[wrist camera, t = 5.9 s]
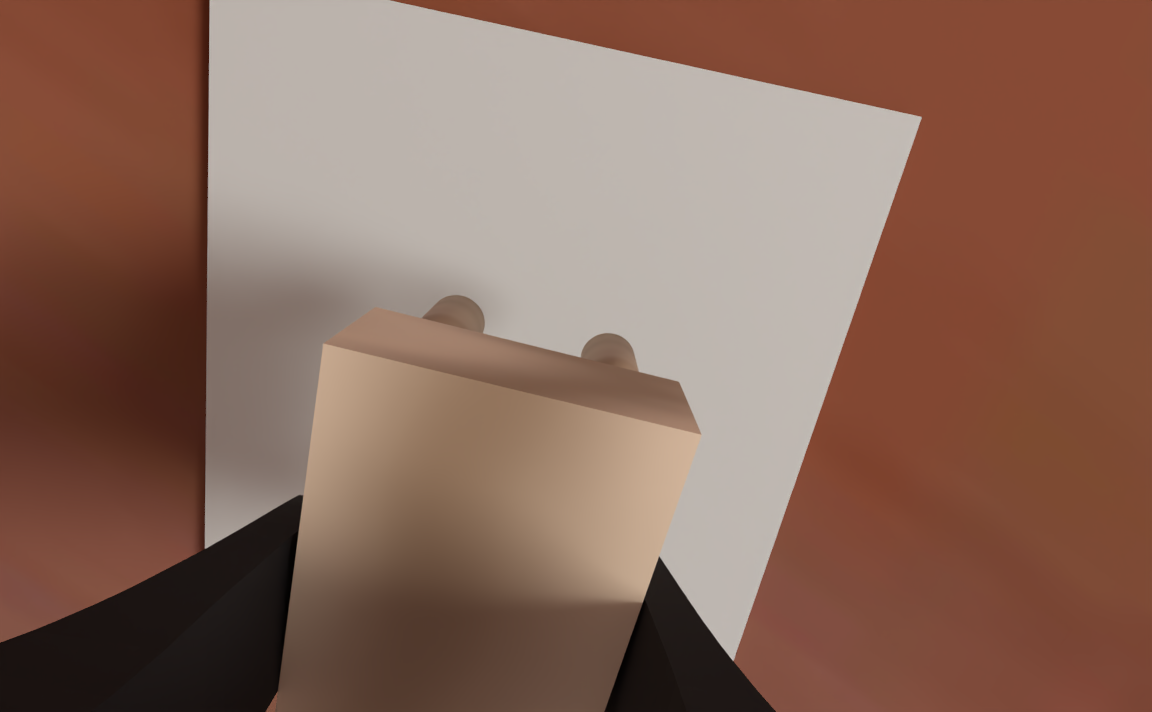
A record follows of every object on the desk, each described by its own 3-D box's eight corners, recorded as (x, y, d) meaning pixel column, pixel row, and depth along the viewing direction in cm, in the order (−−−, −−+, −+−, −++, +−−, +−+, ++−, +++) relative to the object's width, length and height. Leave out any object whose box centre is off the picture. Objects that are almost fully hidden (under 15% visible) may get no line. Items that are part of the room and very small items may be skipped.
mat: (714, 694, 22) (717, 706, 22) (212, 617, 21) (204, 628, 20) (911, 118, 16) (921, 117, 16) (221, -33, 15) (209, -39, 14)
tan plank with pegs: (654, 325, 13) (702, 435, 8) (565, 616, 16) (557, 845, 10) (429, 268, 13) (323, 343, 8) (374, 573, 15) (264, 789, 10)
